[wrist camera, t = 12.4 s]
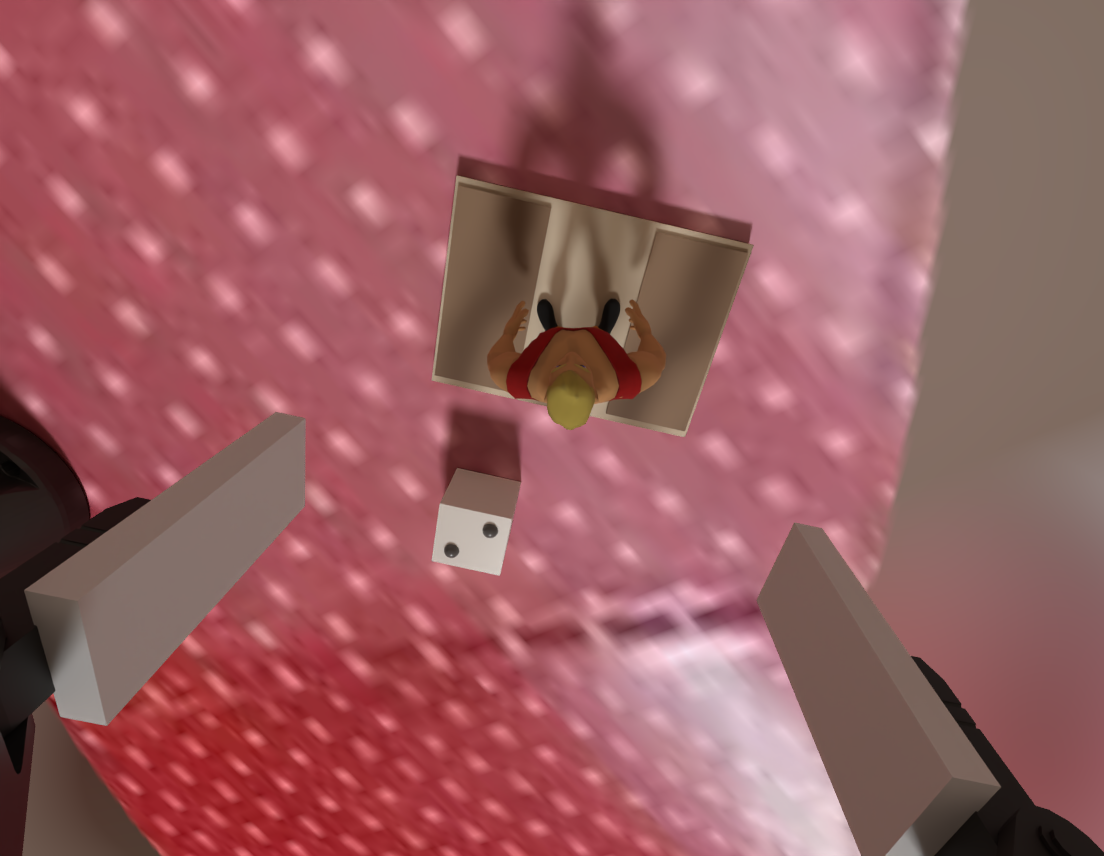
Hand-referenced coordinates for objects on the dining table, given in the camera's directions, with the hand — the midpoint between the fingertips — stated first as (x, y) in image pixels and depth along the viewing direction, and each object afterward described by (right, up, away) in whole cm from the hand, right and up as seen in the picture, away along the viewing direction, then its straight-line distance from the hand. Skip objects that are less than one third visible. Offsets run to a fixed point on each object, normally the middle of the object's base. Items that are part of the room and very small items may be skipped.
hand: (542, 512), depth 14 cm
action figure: (+2, +9, +20) cm, 22 cm away
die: (-5, -4, +27) cm, 28 cm away
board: (+2, +10, +20) cm, 23 cm away
